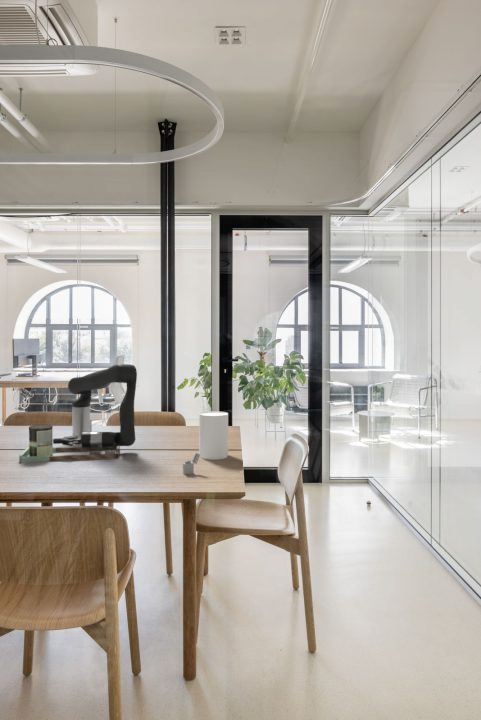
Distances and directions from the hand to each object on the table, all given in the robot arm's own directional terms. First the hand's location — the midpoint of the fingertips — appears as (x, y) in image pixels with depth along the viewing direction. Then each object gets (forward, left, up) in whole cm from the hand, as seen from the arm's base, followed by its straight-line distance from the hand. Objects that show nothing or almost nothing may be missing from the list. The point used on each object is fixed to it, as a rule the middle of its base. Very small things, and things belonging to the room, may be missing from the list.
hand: (53, 441), depth 233 cm
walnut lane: (-7, +4, -7) cm, 11 cm away
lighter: (-32, +64, -7) cm, 72 cm away
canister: (-57, +47, -7) cm, 75 cm away
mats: (-19, +11, -7) cm, 23 cm away
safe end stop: (+6, -3, -7) cm, 10 cm away
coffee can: (+5, -3, -7) cm, 9 cm away
